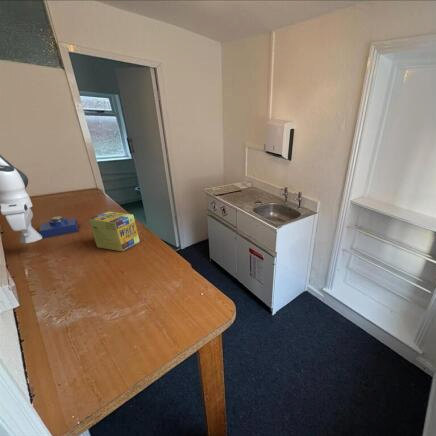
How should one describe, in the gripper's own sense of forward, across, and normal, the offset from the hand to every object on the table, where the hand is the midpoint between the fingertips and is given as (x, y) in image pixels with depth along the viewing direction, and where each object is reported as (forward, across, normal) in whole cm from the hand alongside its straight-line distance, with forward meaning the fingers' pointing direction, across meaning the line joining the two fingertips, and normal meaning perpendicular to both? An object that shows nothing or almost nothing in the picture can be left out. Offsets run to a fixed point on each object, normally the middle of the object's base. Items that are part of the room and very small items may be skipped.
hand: (28, 232), depth 105 cm
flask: (+4, 0, 0) cm, 4 cm away
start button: (+4, -23, +7) cm, 25 cm away
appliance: (+10, -21, +8) cm, 24 cm away
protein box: (+10, +14, +31) cm, 35 cm away
